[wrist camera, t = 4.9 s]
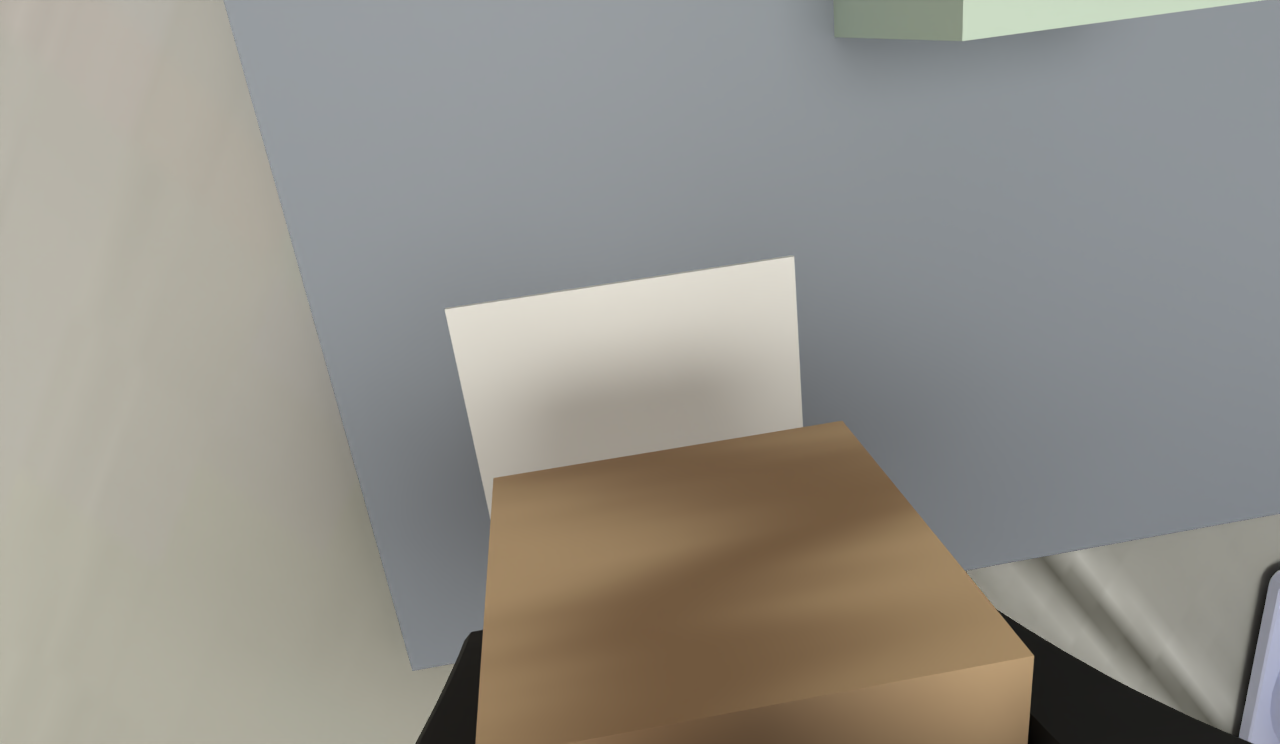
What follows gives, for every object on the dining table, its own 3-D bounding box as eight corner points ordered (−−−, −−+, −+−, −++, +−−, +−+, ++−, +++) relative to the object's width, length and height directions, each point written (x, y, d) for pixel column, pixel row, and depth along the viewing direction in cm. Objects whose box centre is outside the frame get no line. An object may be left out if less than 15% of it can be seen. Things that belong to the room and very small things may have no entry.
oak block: (842, 420, 12) (1033, 655, 8) (850, 691, 14) (1006, 1009, 10) (493, 477, 12) (474, 760, 7) (549, 747, 14) (562, 1106, 9)
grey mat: (1447, -382, 15) (1488, -400, 14) (1277, 498, 22) (1299, 512, 21) (165, -249, 14) (147, -263, 13) (415, 653, 20) (411, 673, 20)
